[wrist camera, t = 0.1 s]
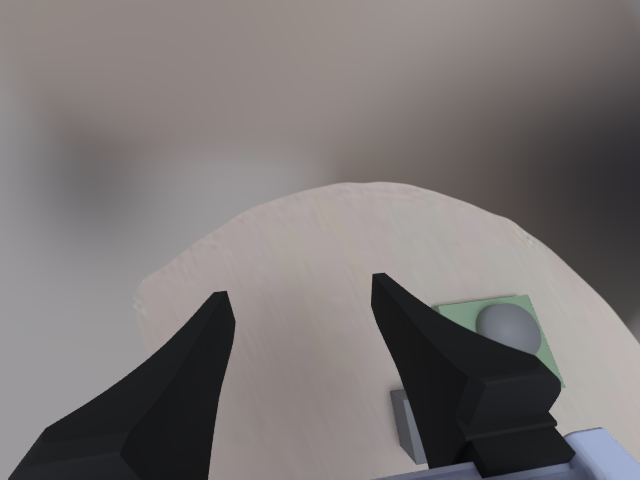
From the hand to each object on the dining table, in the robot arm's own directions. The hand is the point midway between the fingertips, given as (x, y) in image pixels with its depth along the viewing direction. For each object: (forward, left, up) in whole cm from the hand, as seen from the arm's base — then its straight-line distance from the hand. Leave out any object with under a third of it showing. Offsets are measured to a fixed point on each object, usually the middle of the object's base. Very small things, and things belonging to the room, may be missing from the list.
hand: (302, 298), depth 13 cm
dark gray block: (-15, -14, -32) cm, 38 cm away
